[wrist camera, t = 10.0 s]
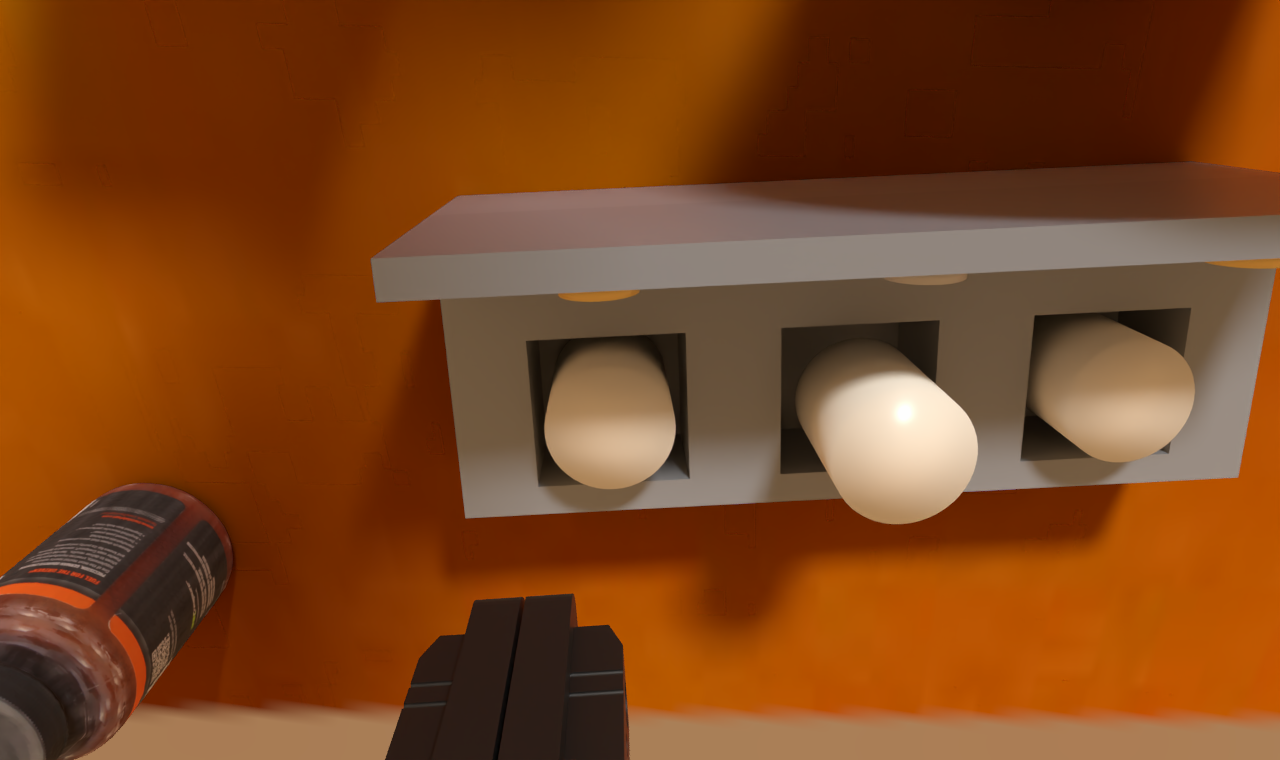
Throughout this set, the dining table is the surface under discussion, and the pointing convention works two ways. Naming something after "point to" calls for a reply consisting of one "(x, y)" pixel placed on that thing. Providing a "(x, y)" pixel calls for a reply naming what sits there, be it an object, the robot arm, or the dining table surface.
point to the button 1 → (610, 411)
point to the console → (838, 313)
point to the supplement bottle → (103, 616)
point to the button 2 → (1107, 386)
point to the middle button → (885, 431)
